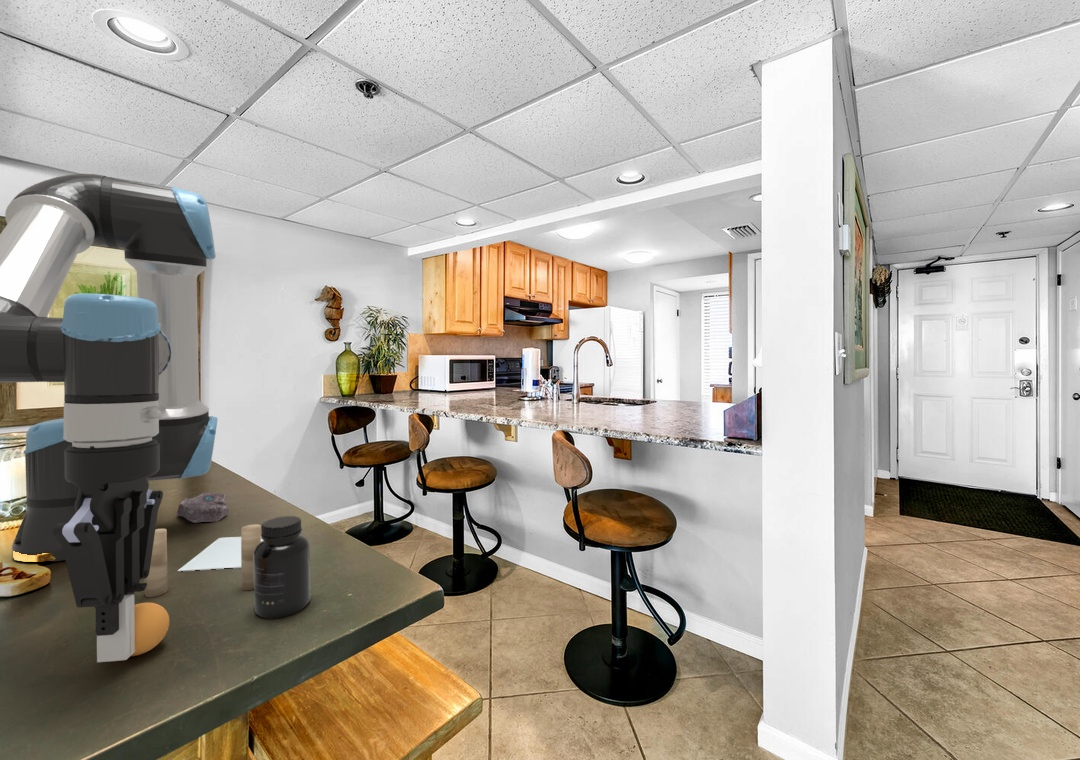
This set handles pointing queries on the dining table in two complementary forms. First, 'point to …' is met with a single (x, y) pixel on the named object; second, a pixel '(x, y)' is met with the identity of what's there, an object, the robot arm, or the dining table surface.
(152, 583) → the post
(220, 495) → the rock
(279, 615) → the supplement bottle
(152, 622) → the ball
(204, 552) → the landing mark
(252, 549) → the post
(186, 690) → the dining table surface
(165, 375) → the robot arm
